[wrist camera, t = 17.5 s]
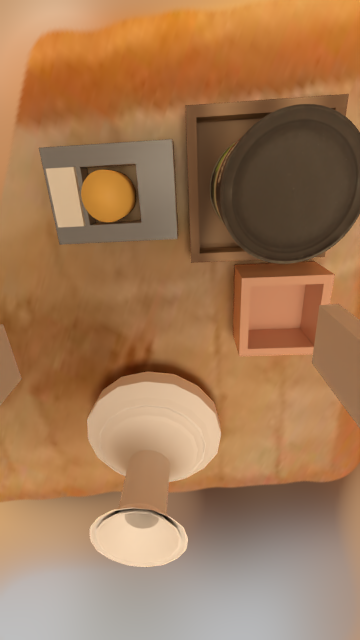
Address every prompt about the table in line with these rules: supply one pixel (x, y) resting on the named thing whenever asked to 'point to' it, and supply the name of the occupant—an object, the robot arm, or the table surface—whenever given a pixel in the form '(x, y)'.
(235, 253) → the dark wooden tray
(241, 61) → the table surface
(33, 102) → the table surface
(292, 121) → the coffee can
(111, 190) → the button
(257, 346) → the terracotta square planter
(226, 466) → the table surface
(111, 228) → the base
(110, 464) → the candle holder
